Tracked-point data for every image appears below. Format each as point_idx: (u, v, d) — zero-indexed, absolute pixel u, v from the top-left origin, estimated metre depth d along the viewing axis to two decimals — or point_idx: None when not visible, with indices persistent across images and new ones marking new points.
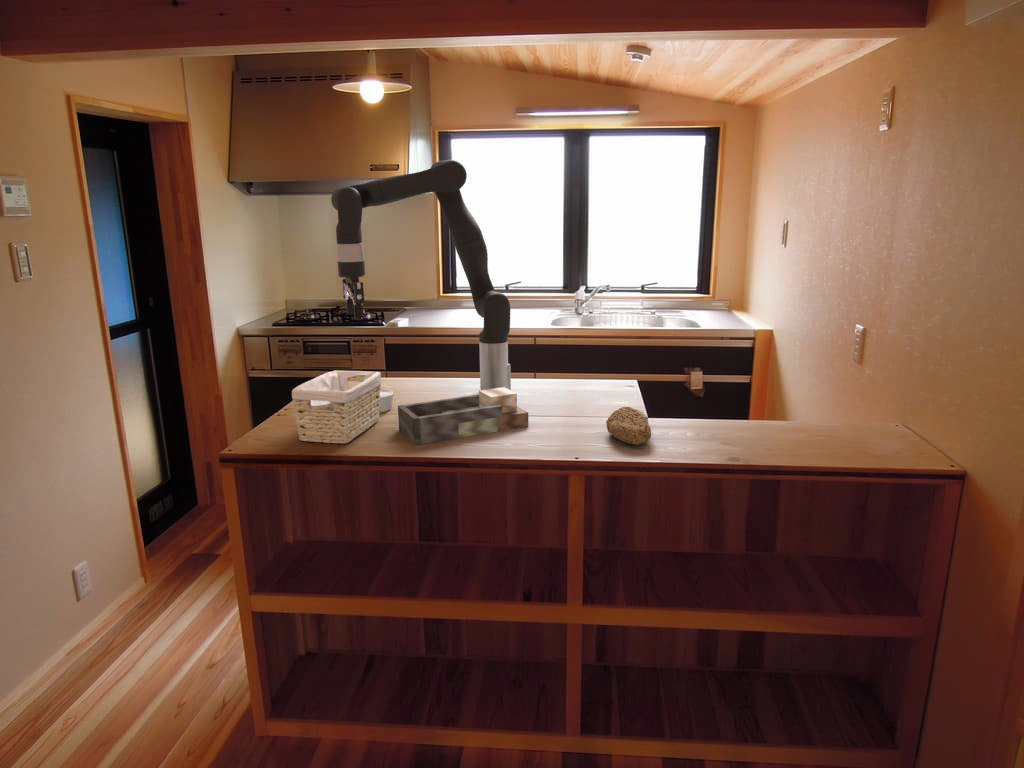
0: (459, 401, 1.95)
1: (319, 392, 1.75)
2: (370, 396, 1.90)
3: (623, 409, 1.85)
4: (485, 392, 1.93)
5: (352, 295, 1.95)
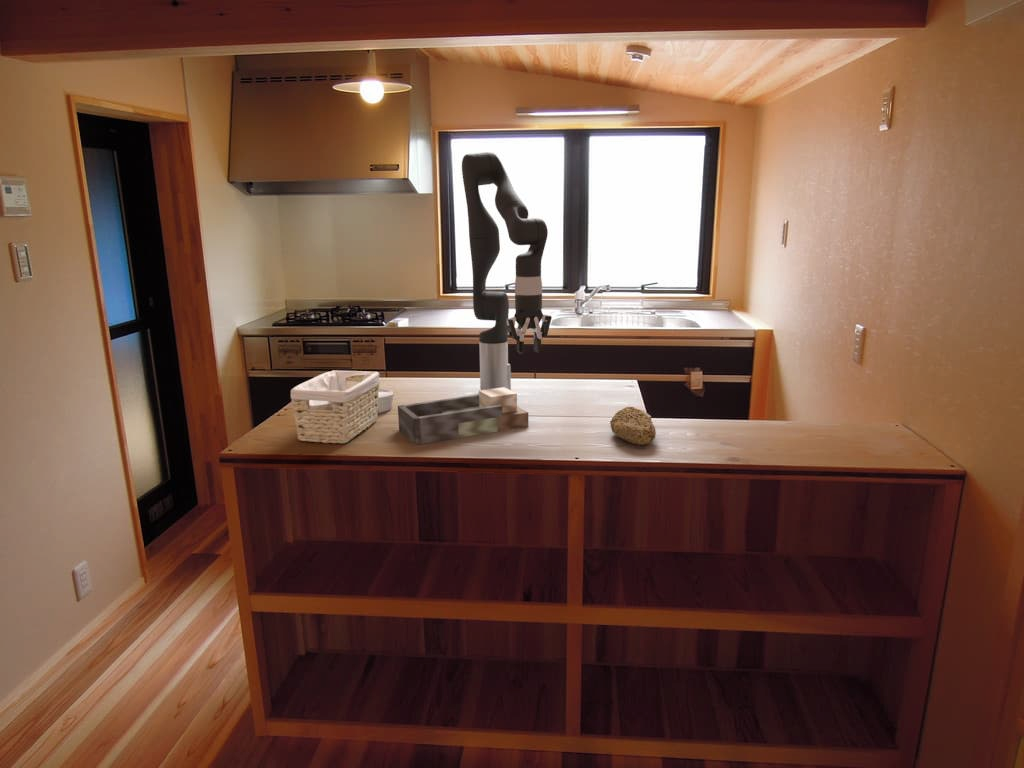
0: (459, 401, 1.95)
1: (318, 392, 1.75)
2: (369, 396, 1.91)
3: (627, 409, 1.85)
4: (485, 392, 1.93)
5: None
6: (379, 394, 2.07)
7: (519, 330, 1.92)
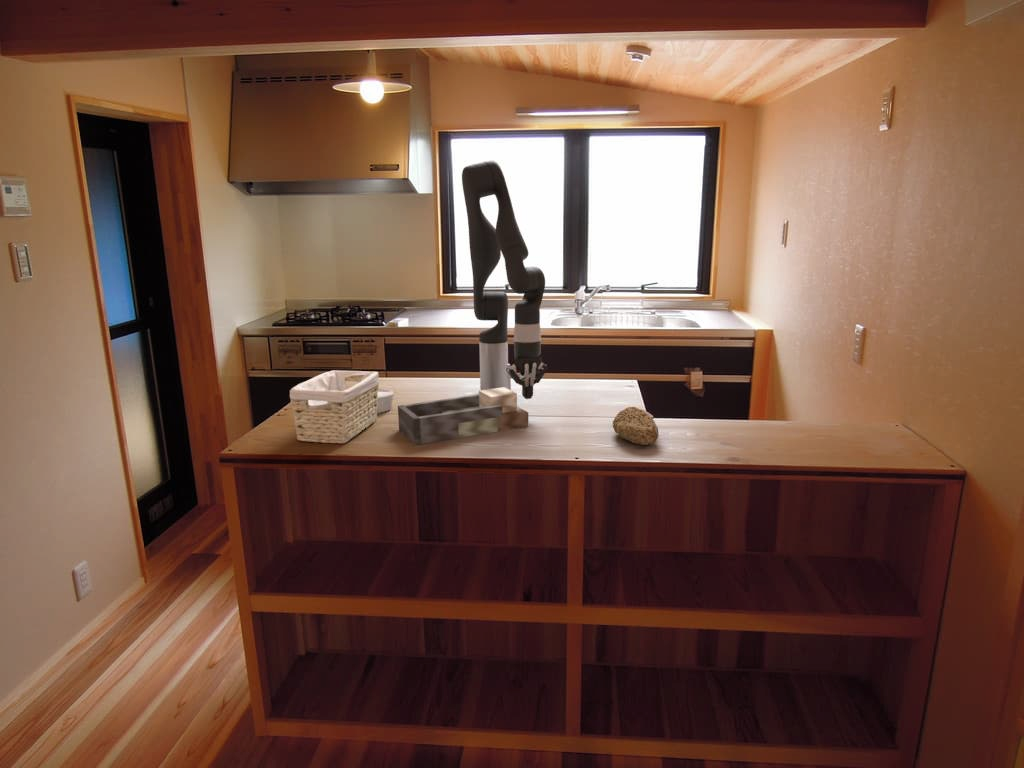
0: (459, 401, 1.95)
1: (317, 392, 1.75)
2: (368, 396, 1.91)
3: (629, 409, 1.85)
4: (485, 392, 1.93)
5: None
6: (379, 394, 2.07)
7: (522, 376, 1.96)
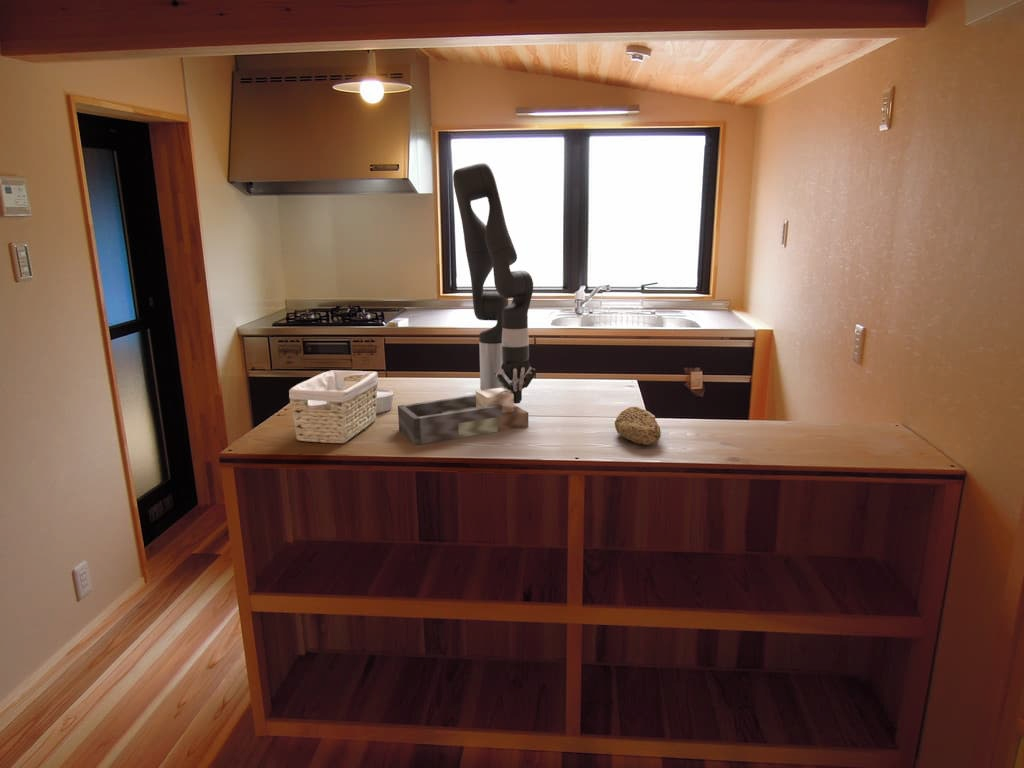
0: (459, 401, 1.95)
1: (316, 392, 1.75)
2: (367, 396, 1.91)
3: (631, 409, 1.85)
4: (481, 392, 1.93)
5: None
6: (379, 394, 2.07)
7: (510, 381, 1.94)
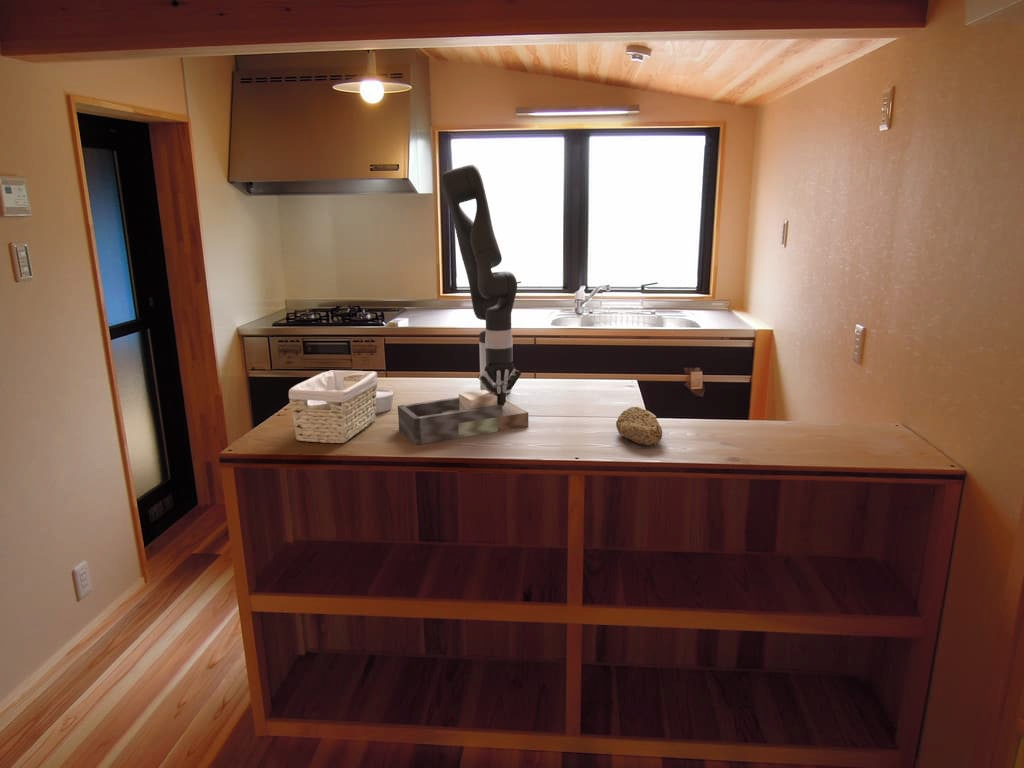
0: None
1: (316, 392, 1.76)
2: (367, 396, 1.91)
3: (632, 409, 1.85)
4: (465, 395, 1.90)
5: None
6: (379, 394, 2.07)
7: (494, 383, 1.92)
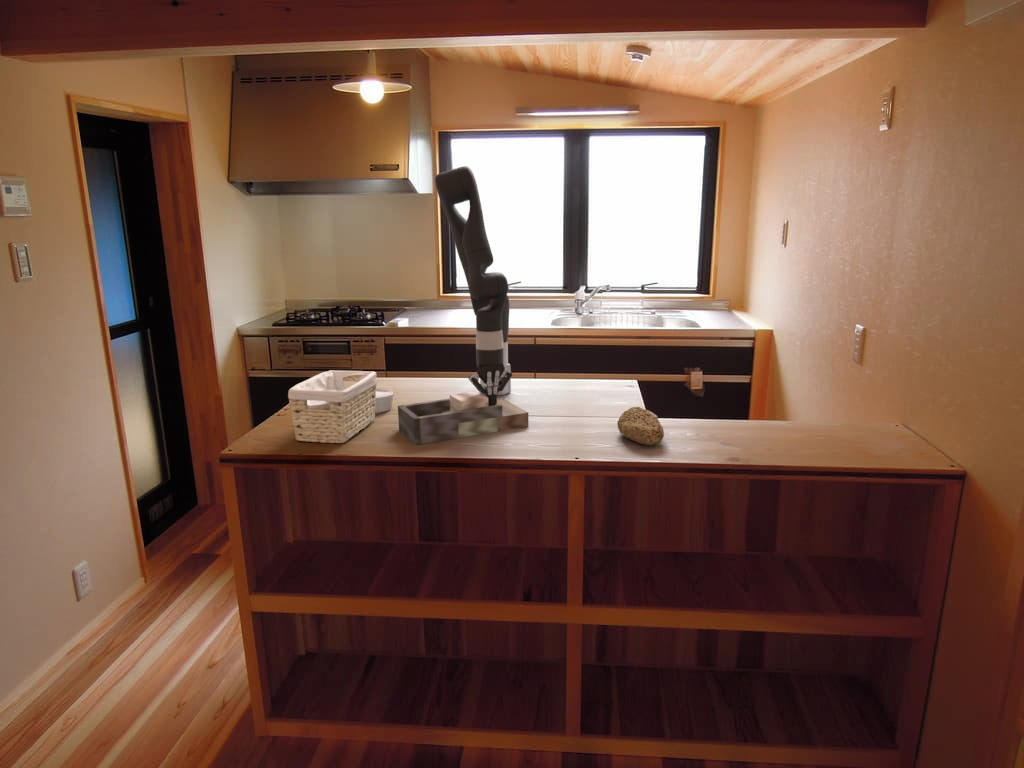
0: None
1: (316, 392, 1.76)
2: (366, 396, 1.91)
3: (634, 409, 1.85)
4: (455, 396, 1.89)
5: None
6: (379, 394, 2.07)
7: (485, 385, 1.91)
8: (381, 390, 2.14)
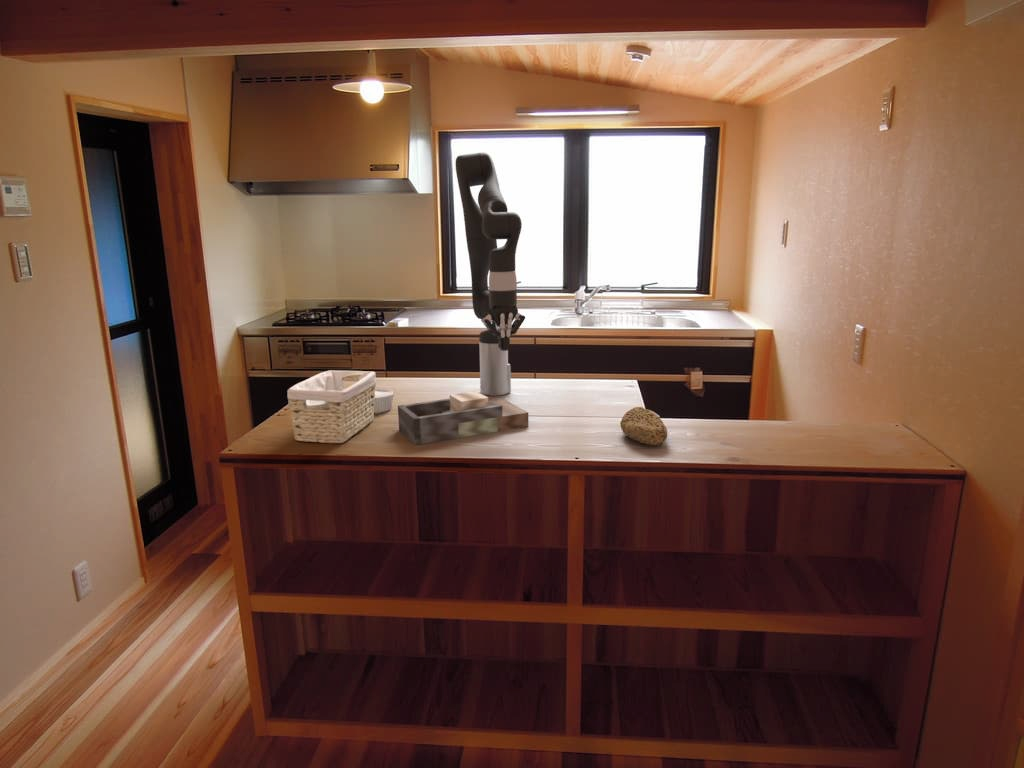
0: None
1: (315, 392, 1.76)
2: (365, 396, 1.91)
3: (636, 409, 1.85)
4: (455, 396, 1.89)
5: None
6: (379, 394, 2.07)
7: (498, 327, 1.89)
8: (381, 390, 2.14)
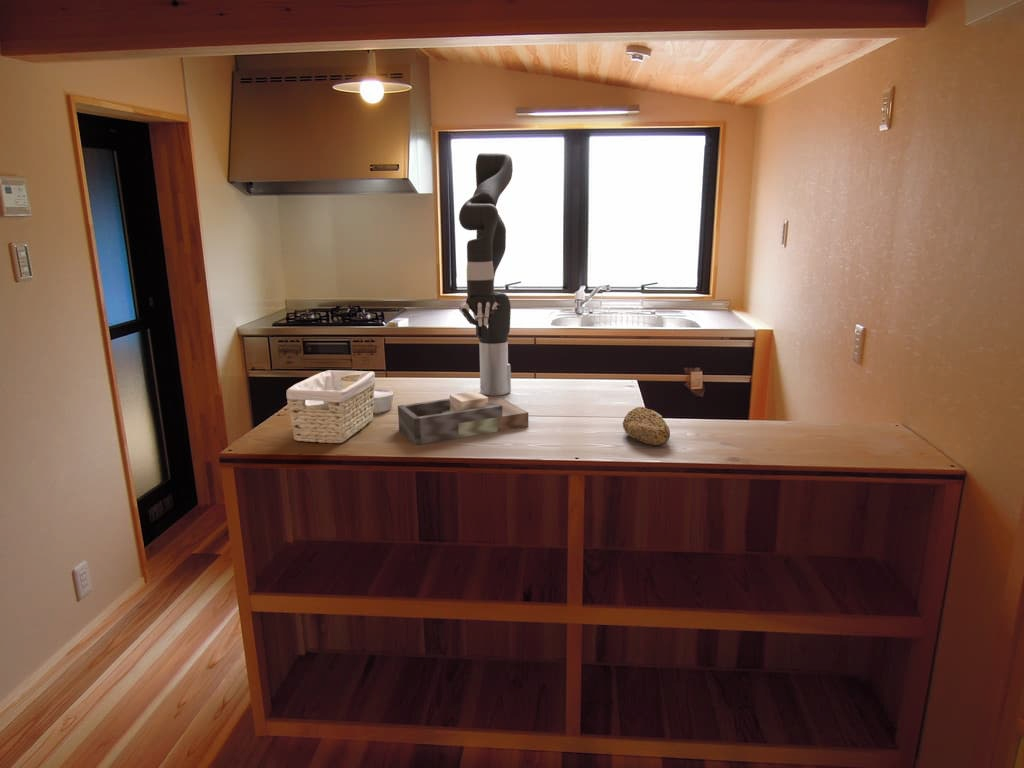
0: None
1: (314, 392, 1.76)
2: (364, 396, 1.91)
3: (639, 409, 1.85)
4: (455, 396, 1.89)
5: None
6: (379, 394, 2.07)
7: (475, 316, 1.94)
8: (381, 390, 2.14)
